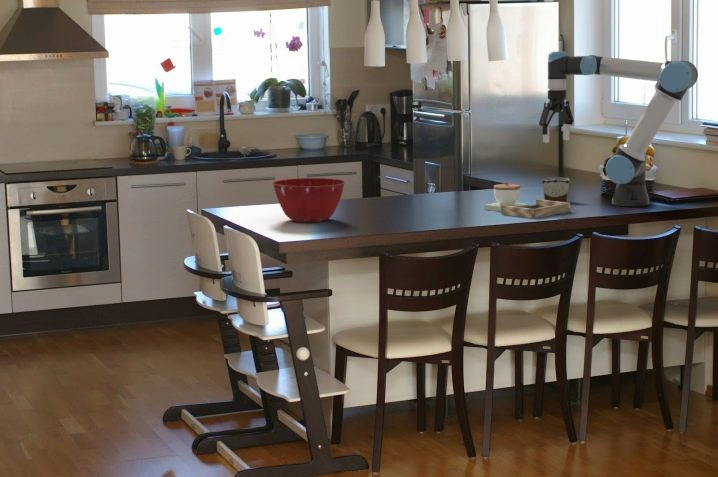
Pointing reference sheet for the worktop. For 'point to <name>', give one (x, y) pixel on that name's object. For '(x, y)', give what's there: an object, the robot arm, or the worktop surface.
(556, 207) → the cradle
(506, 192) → the lidded jar
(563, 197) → the food container
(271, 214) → the worktop surface
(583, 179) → the worktop surface
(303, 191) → the mixing bowl
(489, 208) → the trivet
